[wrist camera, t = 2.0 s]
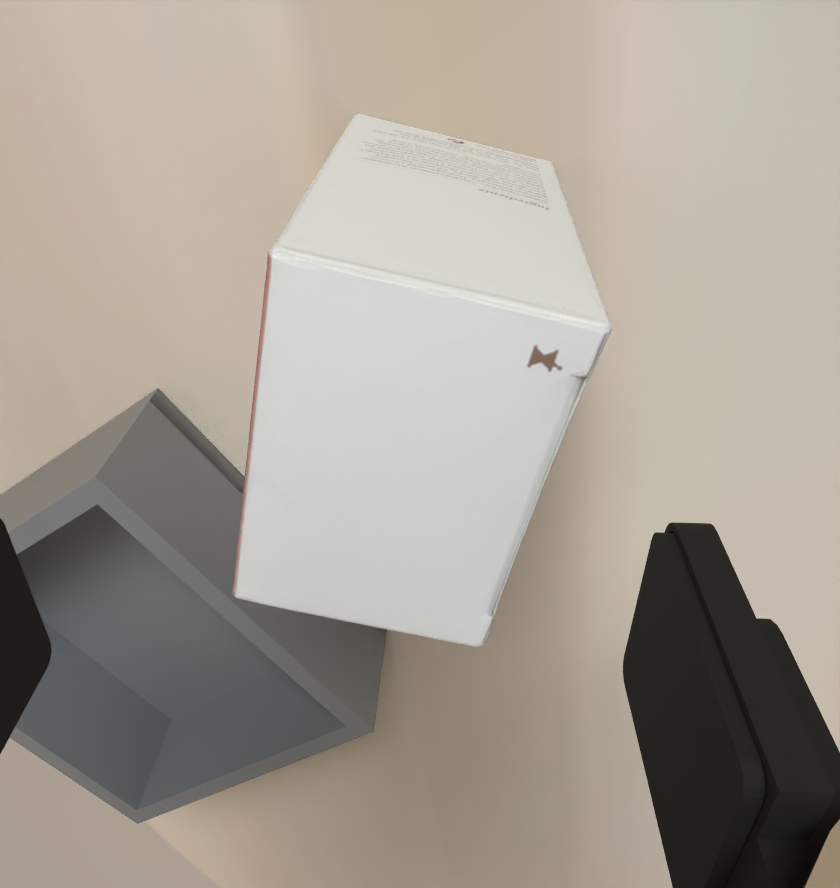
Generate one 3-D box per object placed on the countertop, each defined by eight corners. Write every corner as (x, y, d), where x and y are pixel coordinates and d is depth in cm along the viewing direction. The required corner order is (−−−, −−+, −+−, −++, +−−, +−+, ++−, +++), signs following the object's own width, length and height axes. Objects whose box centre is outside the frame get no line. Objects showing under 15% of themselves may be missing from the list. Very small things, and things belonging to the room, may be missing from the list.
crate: (158, 388, 25) (95, 476, 21) (386, 624, 31) (373, 731, 26) (-59, 534, 29) (-147, 632, 25) (177, 718, 35) (137, 823, 31)
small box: (354, 107, 20) (263, 233, 11) (557, 158, 20) (622, 318, 12) (312, 368, 24) (222, 605, 16) (479, 406, 25) (484, 658, 16)
